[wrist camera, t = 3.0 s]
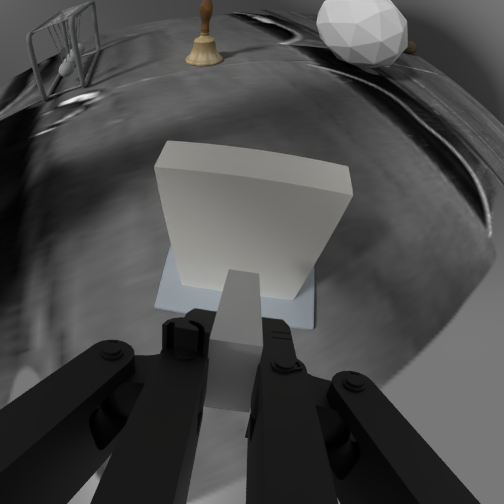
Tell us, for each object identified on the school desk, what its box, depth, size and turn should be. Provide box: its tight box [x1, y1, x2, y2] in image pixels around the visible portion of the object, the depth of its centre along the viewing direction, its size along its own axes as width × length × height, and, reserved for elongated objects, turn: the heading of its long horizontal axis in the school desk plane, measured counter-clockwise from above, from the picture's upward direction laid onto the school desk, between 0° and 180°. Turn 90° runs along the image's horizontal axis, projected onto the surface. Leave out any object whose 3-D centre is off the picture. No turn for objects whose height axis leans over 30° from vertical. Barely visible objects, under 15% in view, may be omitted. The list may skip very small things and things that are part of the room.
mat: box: [155, 245, 314, 330], centre depth 30 cm, size 20×14×1 cm
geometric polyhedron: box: [316, 0, 408, 69], centre depth 52 cm, size 24×25×25 cm
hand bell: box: [185, 0, 223, 66], centre depth 45 cm, size 8×8×16 cm
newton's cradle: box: [26, 0, 100, 101], centre depth 42 cm, size 30×10×18 cm, turn 19°
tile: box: [154, 141, 353, 300], centre depth 20 cm, size 2×10×14 cm, turn 84°
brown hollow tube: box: [403, 40, 417, 54], centre depth 84 cm, size 15×7×7 cm, turn 116°
